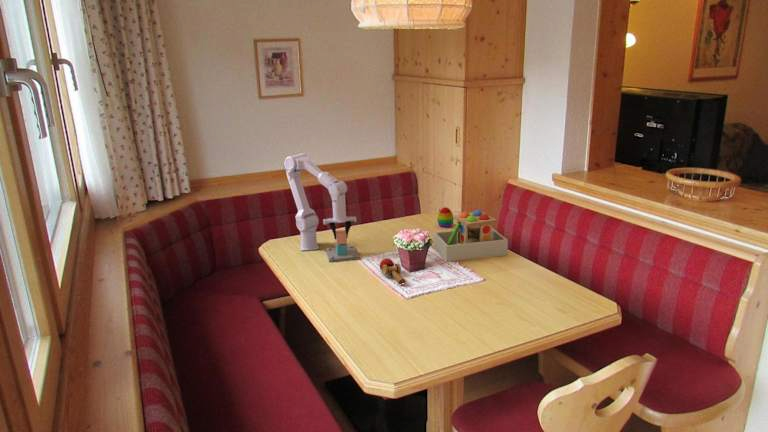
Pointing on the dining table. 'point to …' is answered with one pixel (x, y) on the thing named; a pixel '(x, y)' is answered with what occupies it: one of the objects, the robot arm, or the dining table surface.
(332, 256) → the baseplate
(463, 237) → the pounding bench toy
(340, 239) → the terracotta brick
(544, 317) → the dining table surface
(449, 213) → the decorative egg
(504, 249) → the toy tray
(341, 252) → the teal brick
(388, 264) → the kendama
